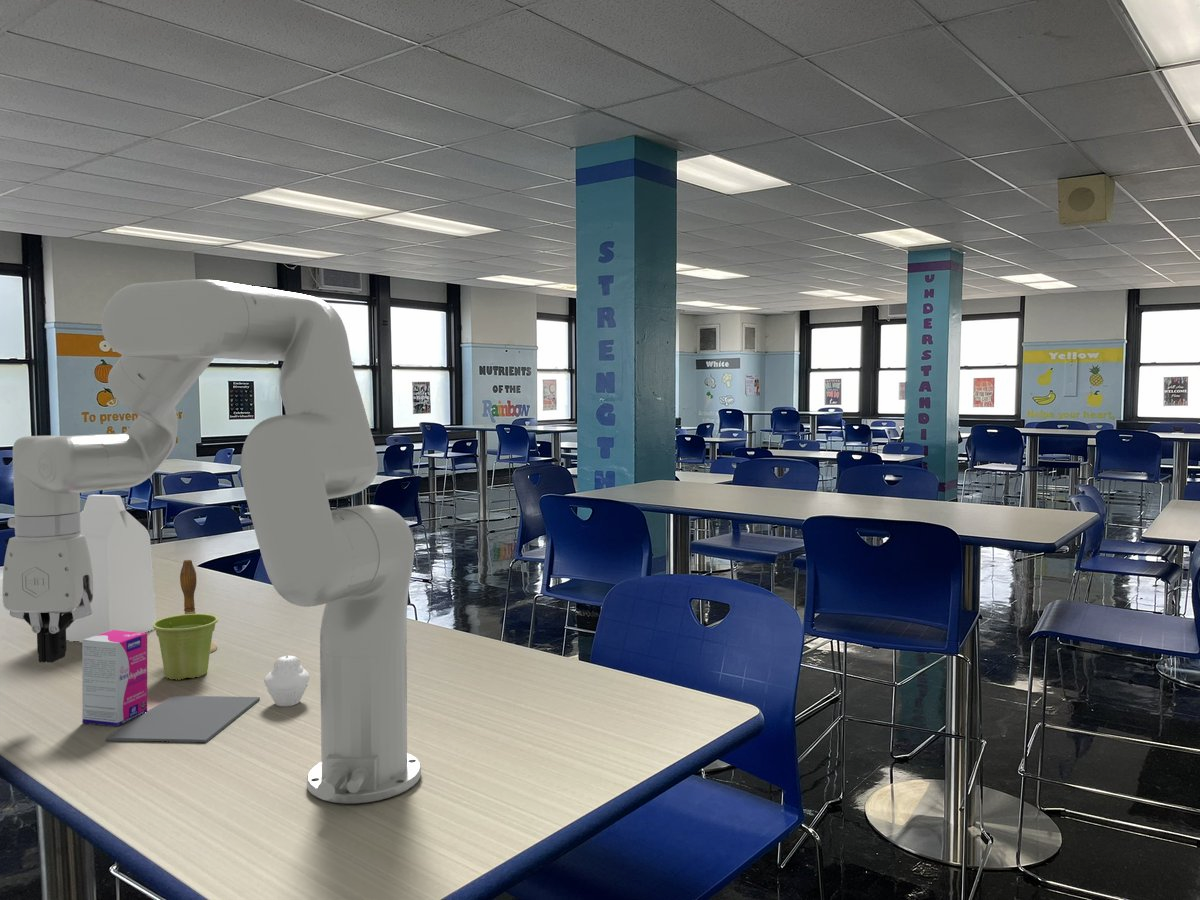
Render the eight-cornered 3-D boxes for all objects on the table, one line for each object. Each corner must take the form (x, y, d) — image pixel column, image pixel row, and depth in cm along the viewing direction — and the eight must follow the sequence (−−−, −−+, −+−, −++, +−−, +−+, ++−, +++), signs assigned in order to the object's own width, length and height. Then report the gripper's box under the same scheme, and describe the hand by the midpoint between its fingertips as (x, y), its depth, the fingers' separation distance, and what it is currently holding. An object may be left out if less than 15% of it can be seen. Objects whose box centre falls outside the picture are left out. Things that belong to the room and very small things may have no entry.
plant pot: (232, 668, 141) (230, 615, 140) (190, 686, 132) (188, 630, 131) (184, 663, 143) (182, 611, 143) (139, 681, 134) (138, 626, 134)
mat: (206, 742, 110) (206, 739, 110) (106, 740, 111) (106, 737, 111) (259, 699, 126) (259, 697, 126) (172, 698, 127) (172, 695, 127)
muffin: (319, 700, 126) (318, 653, 126) (284, 713, 121) (283, 664, 120) (290, 693, 129) (289, 646, 129) (255, 705, 124) (254, 657, 124)
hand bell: (171, 661, 145) (169, 566, 144) (159, 650, 151) (157, 559, 151) (223, 652, 150) (221, 561, 149) (209, 641, 157) (207, 554, 156)
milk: (55, 640, 157) (50, 497, 156) (105, 624, 169) (101, 491, 167) (110, 644, 154) (106, 499, 153) (157, 628, 166) (154, 493, 164)
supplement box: (119, 727, 115) (117, 642, 115) (81, 723, 116) (78, 639, 116) (150, 712, 121) (148, 631, 120) (113, 709, 122) (111, 628, 122)
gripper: (-27, 530, 114) (-22, 667, 115) (84, 531, 114) (88, 668, 115) (14, 522, 122) (18, 651, 123) (118, 523, 121) (121, 652, 122)
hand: (52, 659), depth 119 cm, fingers closed
